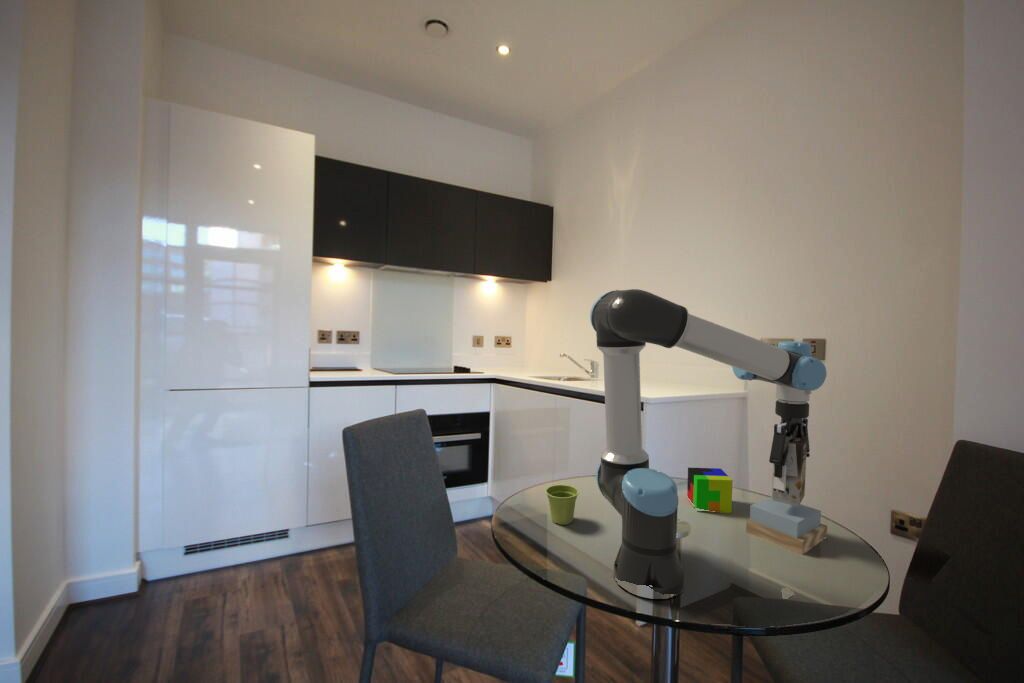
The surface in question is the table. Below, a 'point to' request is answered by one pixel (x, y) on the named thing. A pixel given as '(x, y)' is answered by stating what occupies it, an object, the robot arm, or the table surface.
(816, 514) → the slate-blue top slab
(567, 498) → the plant pot
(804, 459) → the coffee box
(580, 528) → the table surface
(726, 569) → the table surface
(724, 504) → the puzzle toy
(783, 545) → the oak base slab
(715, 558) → the table surface
